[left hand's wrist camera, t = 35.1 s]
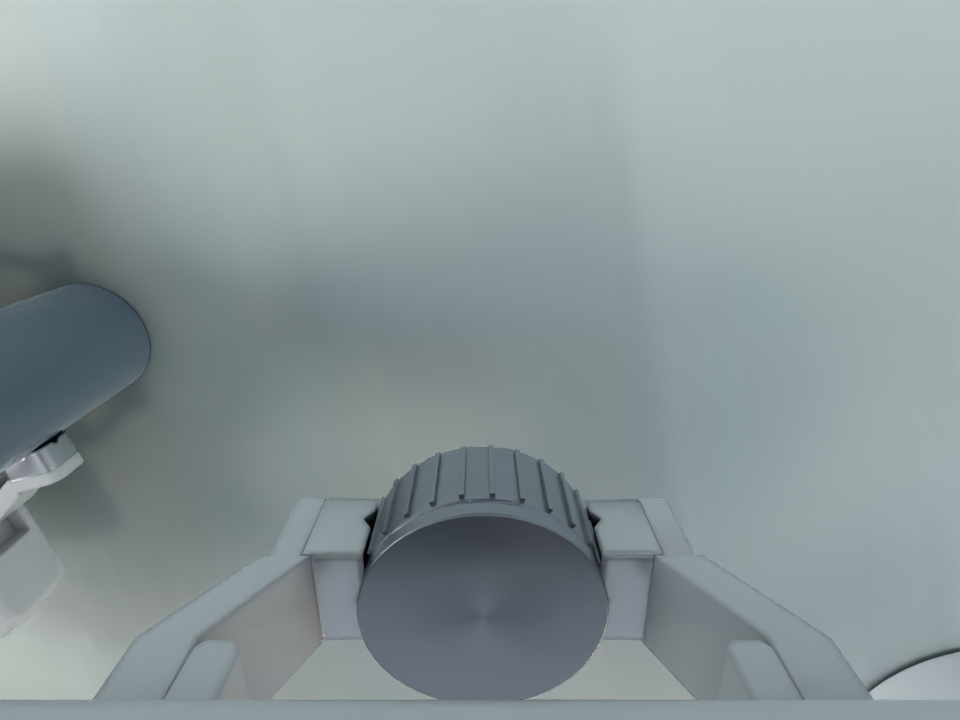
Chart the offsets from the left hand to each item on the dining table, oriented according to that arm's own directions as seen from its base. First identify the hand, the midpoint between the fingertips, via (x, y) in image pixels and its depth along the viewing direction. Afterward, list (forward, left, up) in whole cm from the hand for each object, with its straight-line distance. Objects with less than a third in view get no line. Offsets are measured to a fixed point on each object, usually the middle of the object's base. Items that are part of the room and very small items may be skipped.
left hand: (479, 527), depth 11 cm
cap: (0, 0, +2) cm, 2 cm away
